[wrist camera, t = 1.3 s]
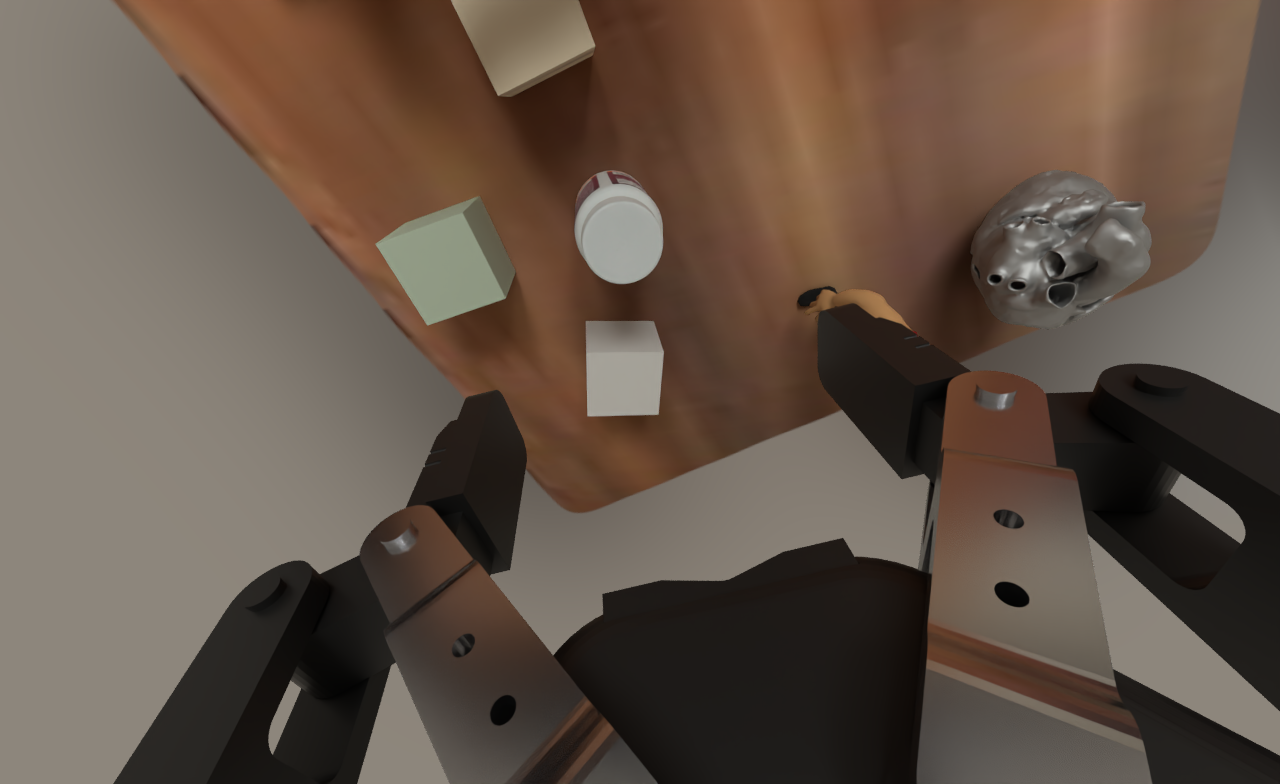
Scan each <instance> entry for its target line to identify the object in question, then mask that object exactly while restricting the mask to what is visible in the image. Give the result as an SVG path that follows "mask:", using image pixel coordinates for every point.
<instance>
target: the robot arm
mask: <svg viewBox="0 0 1280 784" xmlns="http://www.w3.org/2000/svg"><path fill="white" fill-rule="evenodd" d="M818 373H819V377H820V380H821V383H822V385H823V387H824V389H825V390H826V391H827V392H828V394H829V395H830V396H831V397H832V398H833V399H834V401H835V402H836V403H837V404H838V405H839V406H840V408H841V409H842V410H843V411H844V412H845V413H846V415H847V416H848V417H849V418H850V419H851V421H852V422H853V423H854V424H855V425H856V426H857V427H858V429H859V430H860V431H861V432H862V433H863V434H864V436H865V437H866V438H867V439H868V440H869V442H870V443H871V444H872V445H873V446H874V447H875V449H876V450H877V451H878V452H879V453H880V454H881V456H882V457H883V458H884V459H885V460H886V462H887V463H888V464H889V465H890V466H891V467H892V469H893V470H894V471H895V472H896V473H897V474H898V476H899V477H900V478H901V479H904V478H908V477H913V476H917V475H921V474H925V475H926V476H927V477H928V478H929V479H930V482H929V487H928V492H927V500H926V509H925V517H924V525H923V533H922V541H921V550H920V558H919V565H918V569H915V568H913V567H910V566H906V565H903V564H900V563H897V562H892V561H888V560H883V559H877V558H868V557H854V555H853V554H852V552H851V550H850V549H849V547H848V545H847V544H846V542H845V540H844V539H843V538H841V539H837V540H833V541H828V542H824V543H820V544H815V545H811V546H807V547H802V548H798V549H794V550H790V551H785V552H782V553H780V554H778V555H777V556H775V557H773V558H771V559H769V560H767V561H765V562H763V563H761V564H759V565H757V566H755V567H753V568H751V569H749V570H747V571H745V572H743V573H741V574H740V575H737V576H736V577H734V578H731V579H729V580H725V581H664V580H661V581H657V582H652V583H648V584H644V585H639V586H635V587H631V588H626V589H623V590H618V591H614V592H609V593H605V594H603V615H601V616H600V617H598V618H595V619H594V620H593V621H591V622H589V623H588V624H586V625H585V626H583V627H582V628H581V629H580V630H579V631H577V632H576V633H575V634H573V635H572V636H571V637H570V638H569V639H568V640H567V641H566V642H565V643H564V644H563V645H562V646H561V647H560V648H559V649H558V650H557V652H556V653H555V654H554V655H552V654H551V652H550V651H549V650H548V649H547V647H546V646H545V645H544V644H543V642H542V641H541V640H540V639H539V637H538V636H537V635H536V634H535V632H534V631H533V630H532V629H531V627H530V626H529V625H528V624H527V622H526V621H525V620H524V619H523V617H522V616H521V615H520V614H519V612H518V611H517V610H516V609H515V607H514V606H513V605H512V604H511V602H510V601H509V600H508V599H507V597H506V596H505V595H504V594H503V592H502V591H501V590H500V589H499V587H498V586H497V585H496V584H495V582H494V581H493V580H492V579H491V577H490V575H491V574H495V573H499V572H503V571H507V570H510V567H511V560H512V553H513V546H514V540H515V534H516V527H517V521H518V514H519V507H520V501H521V495H522V488H523V482H524V475H525V469H526V462H527V454H526V448H525V444H524V440H523V438H522V435H521V433H520V431H519V429H518V427H517V425H516V423H515V420H514V418H513V416H512V414H511V412H510V410H509V408H508V405H507V403H506V401H505V399H504V397H503V395H502V394H501V392H500V391H498V390H494V391H490V392H486V393H482V394H478V395H473V396H469V397H467V398H466V399H465V401H464V404H463V407H462V409H461V412H460V414H459V417H458V419H457V420H454V421H451V422H450V423H449V424H448V425H447V426H446V427H445V428H444V429H443V430H442V432H440V434H439V435H438V436H437V437H436V440H435V442H434V444H433V447H432V449H431V451H430V452H431V454H430V455H429V456H428V458H427V460H426V463H425V467H424V468H423V469H422V472H421V474H420V476H419V479H418V481H417V483H416V486H415V488H414V490H413V492H412V495H411V497H410V500H409V502H408V504H407V506H406V508H404V509H402V510H400V511H397V512H395V513H394V514H392V515H390V516H389V517H387V518H386V519H384V520H383V521H382V522H380V523H379V524H378V525H377V526H376V527H375V528H374V529H373V530H372V531H371V532H370V533H369V535H368V536H367V537H366V539H365V541H364V542H363V544H362V546H361V549H360V555H359V556H357V557H355V558H353V559H351V560H349V561H347V562H344V563H342V564H340V565H338V566H336V567H334V568H332V569H330V570H328V571H326V572H324V573H322V574H319V573H318V572H317V571H316V570H314V569H313V568H312V567H311V566H310V565H309V564H308V563H307V562H305V561H291V562H287V563H285V564H281V565H279V566H277V567H275V568H273V569H271V570H269V571H267V572H266V573H264V574H262V575H261V576H259V577H258V578H257V579H255V580H254V581H253V582H251V583H250V584H249V585H248V586H247V587H246V588H244V590H242V591H241V592H240V593H239V594H238V595H237V597H236V598H235V599H234V600H233V601H232V603H231V604H230V605H229V607H228V608H227V610H226V611H225V613H224V614H223V616H222V617H221V619H220V620H219V622H218V624H217V625H216V627H215V628H214V630H213V631H212V633H211V634H210V636H209V637H208V639H207V640H206V642H205V644H204V645H203V647H202V648H201V650H200V651H199V653H198V654H197V656H196V658H195V659H194V660H193V662H192V664H191V665H190V667H189V668H188V670H187V671H186V673H185V674H184V676H183V678H182V679H181V681H180V682H179V684H178V685H177V687H176V688H175V690H174V691H173V693H172V695H171V696H170V697H169V699H168V700H167V702H166V704H165V705H164V707H163V708H162V710H161V711H160V713H159V714H158V716H157V717H156V719H155V720H154V722H153V724H152V725H151V727H150V728H149V730H148V731H147V733H146V734H145V736H144V737H143V739H142V740H141V742H140V744H139V745H138V747H137V748H136V750H135V752H134V753H133V754H132V756H131V757H130V759H129V761H128V762H127V764H126V765H125V767H124V768H123V770H122V772H121V773H120V774H119V776H118V777H117V779H116V781H115V782H114V784H357V782H358V779H359V775H360V772H361V768H362V765H363V762H364V758H365V755H366V751H367V747H368V744H369V740H370V737H371V734H372V730H373V727H374V723H375V719H376V716H377V713H378V709H379V706H380V702H381V698H382V695H383V692H384V688H385V684H386V681H387V678H388V674H389V671H390V667H391V665H392V664H394V663H396V664H397V666H398V668H399V670H400V673H401V675H402V677H403V679H404V682H405V684H406V686H407V688H408V691H409V693H410V695H411V697H412V700H413V702H414V704H415V706H416V709H417V711H418V713H419V715H420V718H421V720H422V722H423V724H424V727H425V729H426V731H427V734H428V736H429V738H430V740H431V742H432V744H433V747H434V749H435V751H436V754H437V756H438V758H439V760H440V763H441V765H442V767H443V769H444V772H445V774H446V776H447V778H448V780H449V783H450V784H1280V756H1279V755H1277V754H1276V753H1274V752H1272V751H1270V750H1268V749H1266V748H1264V747H1262V746H1260V745H1258V744H1256V743H1254V742H1252V741H1251V740H1249V739H1247V738H1245V737H1243V736H1241V735H1239V734H1237V733H1235V732H1233V731H1231V730H1229V729H1227V728H1226V727H1223V726H1222V725H1220V724H1218V723H1216V722H1214V721H1212V720H1210V719H1208V718H1206V717H1204V716H1202V715H1200V714H1199V713H1197V712H1195V711H1193V710H1191V709H1189V708H1187V707H1185V706H1183V705H1181V704H1179V703H1177V702H1175V701H1174V700H1172V699H1170V698H1168V697H1166V696H1164V695H1162V694H1160V693H1158V692H1156V691H1154V690H1152V689H1150V688H1148V687H1147V686H1145V685H1143V684H1141V683H1139V682H1137V681H1135V680H1133V679H1131V678H1129V677H1127V676H1125V675H1123V674H1122V673H1120V672H1118V671H1116V670H1114V669H1113V667H1112V663H1111V657H1110V652H1109V646H1108V641H1107V635H1106V630H1105V625H1104V619H1103V614H1102V609H1101V603H1100V598H1099V593H1098V587H1097V582H1096V577H1095V571H1094V566H1093V560H1092V555H1091V550H1090V545H1089V539H1088V534H1089V535H1090V536H1091V537H1092V538H1093V539H1094V540H1095V541H1096V542H1097V543H1098V544H1099V545H1100V546H1102V547H1103V548H1104V549H1105V550H1106V551H1107V552H1108V553H1109V554H1110V555H1111V556H1112V557H1113V558H1115V560H1117V561H1118V562H1119V563H1120V564H1121V565H1122V566H1123V567H1124V568H1125V569H1126V570H1127V571H1128V572H1130V573H1131V574H1132V575H1133V576H1134V577H1135V578H1136V579H1137V580H1138V581H1139V582H1141V584H1143V585H1144V586H1145V587H1146V588H1147V589H1148V590H1149V591H1150V592H1151V593H1152V594H1153V595H1155V596H1156V597H1157V598H1158V599H1159V600H1160V601H1161V602H1162V603H1163V604H1164V605H1166V607H1167V608H1169V609H1170V610H1171V611H1172V612H1173V613H1174V614H1175V615H1176V616H1177V617H1178V618H1179V619H1180V620H1182V621H1183V622H1184V623H1185V624H1186V625H1187V626H1188V627H1189V628H1190V629H1191V630H1192V631H1193V632H1195V633H1196V634H1197V635H1198V636H1199V637H1200V638H1201V639H1202V640H1203V641H1204V642H1205V643H1206V644H1208V645H1209V646H1210V647H1211V648H1212V649H1213V650H1214V651H1215V652H1216V653H1217V654H1218V655H1219V656H1221V657H1222V658H1223V659H1224V660H1225V661H1226V662H1227V663H1228V664H1229V665H1230V666H1231V667H1232V668H1233V669H1235V670H1236V671H1237V672H1238V673H1239V674H1240V675H1241V676H1242V677H1243V678H1244V679H1245V680H1246V681H1248V682H1249V683H1250V684H1251V685H1252V686H1253V687H1254V688H1255V689H1256V690H1257V691H1258V692H1260V693H1261V694H1262V695H1263V696H1264V697H1265V698H1266V699H1267V700H1268V701H1269V702H1270V703H1271V704H1273V705H1274V706H1275V707H1276V708H1277V709H1278V710H1279V711H1280V414H1279V413H1277V412H1275V411H1273V410H1271V409H1269V408H1267V407H1265V406H1262V405H1260V404H1258V403H1256V402H1254V401H1252V400H1250V399H1248V398H1246V397H1244V396H1241V395H1239V394H1237V393H1235V392H1233V391H1231V390H1229V389H1227V388H1225V387H1223V386H1221V385H1218V384H1216V383H1214V382H1212V381H1210V380H1208V379H1206V378H1204V377H1201V376H1199V375H1197V374H1194V373H1191V372H1188V371H1184V370H1181V369H1177V368H1172V367H1168V366H1161V365H1153V364H1124V365H1118V366H1114V367H1111V368H1108V369H1106V370H1104V371H1103V372H1102V373H1101V375H1100V376H1099V378H1098V381H1097V383H1096V386H1095V388H1094V390H1093V392H1074V393H1044V391H1043V390H1042V389H1041V388H1040V387H1039V386H1038V385H1036V384H1035V383H1033V382H1031V381H1029V380H1028V379H1025V378H1023V377H1020V376H1017V375H1014V374H1010V373H1004V372H998V371H974V372H971V371H970V370H968V369H967V368H965V367H964V366H962V365H961V364H959V363H958V362H957V361H955V360H954V359H952V358H951V357H949V356H948V355H946V354H945V353H943V352H942V351H941V350H939V349H938V348H936V347H935V346H933V345H929V342H927V341H926V340H924V339H923V338H922V337H920V336H919V337H917V334H916V333H914V332H913V331H911V330H910V329H908V328H907V327H906V326H904V325H903V324H901V323H897V322H894V321H891V320H888V319H885V318H882V317H878V318H875V317H873V316H872V315H871V314H869V313H868V312H867V311H865V310H864V309H862V308H861V307H860V306H858V305H857V304H855V303H850V304H846V305H842V306H838V307H834V308H830V309H826V310H822V311H821V312H820V313H819V316H818ZM1181 473H1182V474H1183V475H1185V476H1186V477H1188V478H1189V479H1191V480H1192V481H1194V482H1195V483H1197V484H1198V485H1200V486H1201V487H1203V488H1204V489H1206V490H1207V491H1209V492H1210V493H1212V494H1213V495H1215V496H1216V497H1218V498H1219V499H1221V500H1222V501H1224V502H1225V503H1226V504H1228V505H1229V506H1230V507H1231V508H1233V509H1234V510H1235V511H1236V513H1237V514H1238V515H1239V516H1240V518H1241V520H1242V521H1243V524H1244V526H1245V530H1246V535H1245V539H1244V541H1243V542H1242V544H1240V543H1239V542H1237V541H1236V540H1234V539H1233V538H1232V537H1230V536H1229V535H1227V534H1226V533H1225V532H1223V531H1222V530H1220V529H1219V528H1217V527H1216V526H1215V525H1213V524H1212V523H1211V522H1209V521H1208V520H1206V519H1205V518H1204V517H1202V516H1201V515H1199V514H1198V513H1197V512H1195V511H1194V510H1192V509H1191V508H1190V507H1188V506H1187V505H1185V504H1184V503H1183V502H1181V501H1180V500H1178V499H1177V498H1176V497H1174V496H1173V495H1171V494H1170V493H1169V492H1170V491H1171V489H1172V487H1173V486H1174V484H1175V483H1176V481H1177V479H1178V477H1179V476H1180V474H1181ZM290 680H291V681H292V682H294V683H295V684H296V685H298V686H299V687H300V688H301V691H300V693H299V696H298V698H297V700H296V702H295V705H294V707H293V710H292V712H291V714H290V716H289V719H288V721H287V723H286V726H285V728H284V730H283V733H282V735H281V737H280V740H279V742H278V744H277V747H276V749H275V751H274V754H273V755H272V754H271V751H270V748H269V743H268V735H269V729H270V725H271V722H272V720H273V717H274V715H275V713H276V711H277V709H278V706H279V704H280V702H281V700H282V698H283V695H284V693H285V691H286V689H287V687H288V684H289V682H290Z"/></svg>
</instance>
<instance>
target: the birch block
mask: <svg viewBox="0 0 1280 784" xmlns="http://www.w3.org/2000/svg"><path fill="white" fill-rule="evenodd" d="M451 2H452V4H453V6H454V8H455V10H456V12H457V14H458V16H459V18H460V20H461V22H462V24H463V26H464V28H465V30H466V32H467V34H468V36H469V38H470V40H471V42H472V44H473V46H474V48H475V50H476V52H477V54H478V56H479V58H480V60H481V62H482V64H483V66H484V68H485V70H486V73H487V75H488V77H489V79H490V81H491V83H492V85H493V87H494V89H495V91H496V93H497V95H498V96H505V97H513V96H514V95H516V94H518V93H520V92H522V91H524V90H526V89H528V88H530V87H532V86H534V85H536V84H538V83H540V82H542V81H544V80H546V79H548V78H550V77H552V76H554V75H556V74H557V73H559V72H561V71H563V70H565V69H567V68H569V67H571V66H573V65H575V64H577V63H579V62H581V61H583V60H585V59H587V58H589V57H591V56H593V53H594V50H595V44H594V41H593V38H592V36H591V33H590V30H589V27H588V25H587V22H586V19H585V17H584V14H583V11H582V8H581V6H580V3H579V0H451Z"/></svg>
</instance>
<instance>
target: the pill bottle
mask: <svg viewBox="0 0 1280 784" xmlns="http://www.w3.org/2000/svg"><path fill="white" fill-rule="evenodd" d="M574 231H575V239H576V243H577V246H578V249H579V251H580V253H581V255H582V256H583V258H584V259H585V260H586V262H587V264H588V265H589V267H590V268H591V269H592V271H593V272H594V273H595V274H596V275H598V276H599V277H600V278H602V279H604V280H606V281H608V282H611V283H615V284H629V283H633V282H636V281H639V280H641V279H642V278H644V277H646V276H647V275H648V274H649V273H650V272H651V271H652V270H653V269H654V268H655V266H656V265H657V263H658V261H659V259H660V257H661V254H662V249H663V223H662V218H661V214H660V212H659V209H658V207H657V206H656V204H655V202H654V201H653V200H652V199H651V198H650V196H649V195H648V194H647V193H646V191H645V190H644V188H643V187H642V186H641V185H640V183H639V182H638V181H637V180H636V179H634V178H633V177H632V176H630V175H628V174H626V173H624V172H621V171H615V170H609V171H603V172H600V173H597V174H595V175H594V176H592V177H591V178H589V179H588V180H587V181H586V182H585V183H584V185H583V186H582V187H581V189H580V191H579V193H578V196H577V199H576V205H575V227H574Z"/></svg>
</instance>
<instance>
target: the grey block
mask: <svg viewBox="0 0 1280 784" xmlns="http://www.w3.org/2000/svg"><path fill="white" fill-rule="evenodd" d="M663 355H664V351H663V348H662V345H661V342H660V339H659V336H658V333H657V330H656V327H655V324H654V321H586V363H587V414H588V416H623V415H658V414H659V402H660V391H661V379H662V367H663Z"/></svg>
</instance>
